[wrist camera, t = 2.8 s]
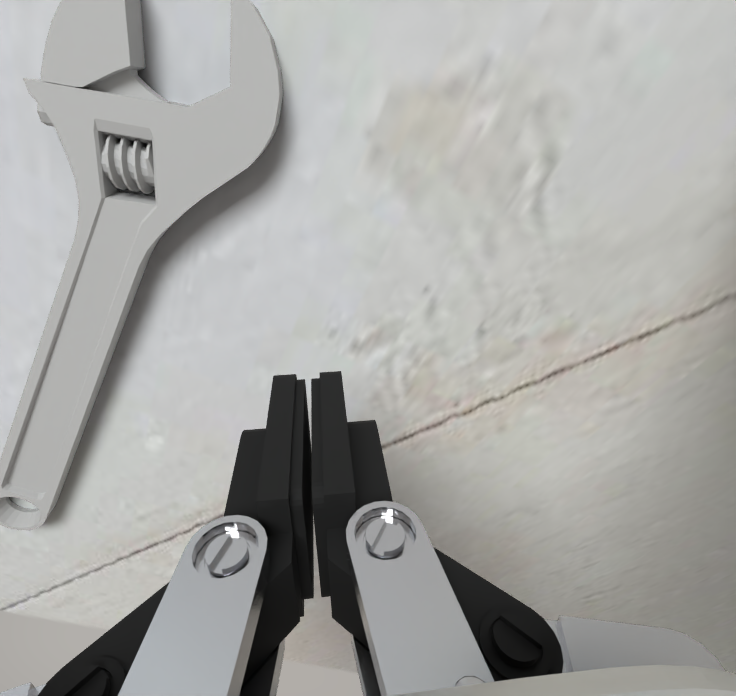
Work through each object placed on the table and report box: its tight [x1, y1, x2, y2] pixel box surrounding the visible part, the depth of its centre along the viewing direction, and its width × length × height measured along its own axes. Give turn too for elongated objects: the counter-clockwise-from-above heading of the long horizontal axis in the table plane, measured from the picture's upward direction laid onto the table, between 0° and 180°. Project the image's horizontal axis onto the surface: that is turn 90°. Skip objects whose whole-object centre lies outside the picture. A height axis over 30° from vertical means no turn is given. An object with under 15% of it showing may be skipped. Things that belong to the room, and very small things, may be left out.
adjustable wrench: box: [0, 0, 283, 530], centre depth 17 cm, size 25×6×2 cm, turn 143°
